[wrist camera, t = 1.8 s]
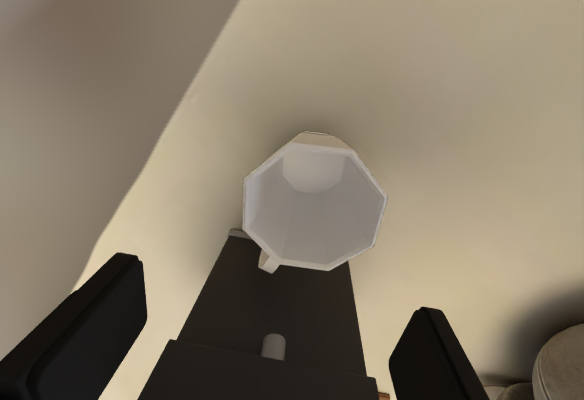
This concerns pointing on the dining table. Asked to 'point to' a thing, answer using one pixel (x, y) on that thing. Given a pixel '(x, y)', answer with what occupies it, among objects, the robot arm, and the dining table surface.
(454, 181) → the dining table surface
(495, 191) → the dining table surface
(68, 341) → the robot arm
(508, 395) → the webcam
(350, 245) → the cup
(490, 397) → the cylindrical container
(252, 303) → the black box with button
